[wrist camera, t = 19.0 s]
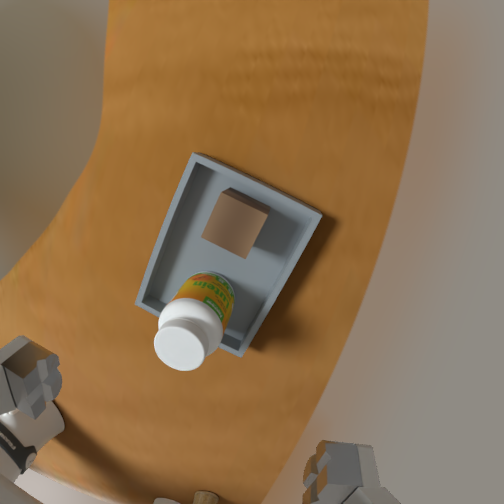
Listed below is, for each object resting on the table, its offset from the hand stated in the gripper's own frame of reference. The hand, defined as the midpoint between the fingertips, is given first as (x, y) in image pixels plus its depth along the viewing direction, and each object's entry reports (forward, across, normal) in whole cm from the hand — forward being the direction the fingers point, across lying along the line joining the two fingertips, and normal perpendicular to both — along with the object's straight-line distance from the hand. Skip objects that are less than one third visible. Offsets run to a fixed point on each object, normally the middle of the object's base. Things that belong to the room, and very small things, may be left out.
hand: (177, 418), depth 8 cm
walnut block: (+22, +2, -2) cm, 22 cm away
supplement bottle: (+22, +3, +7) cm, 24 cm away
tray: (+23, +3, +3) cm, 23 cm away
